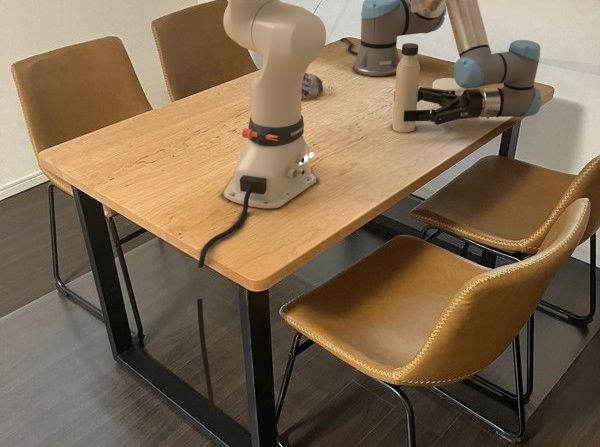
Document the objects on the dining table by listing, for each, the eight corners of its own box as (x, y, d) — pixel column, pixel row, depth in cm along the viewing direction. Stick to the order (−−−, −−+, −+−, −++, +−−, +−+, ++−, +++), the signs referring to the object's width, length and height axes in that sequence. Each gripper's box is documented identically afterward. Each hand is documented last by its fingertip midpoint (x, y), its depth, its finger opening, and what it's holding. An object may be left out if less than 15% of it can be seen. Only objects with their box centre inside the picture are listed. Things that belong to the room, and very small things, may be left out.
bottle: (396, 122, 169) (402, 42, 157) (417, 125, 167) (425, 45, 155) (389, 130, 165) (395, 48, 153) (410, 134, 162) (418, 51, 151)
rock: (327, 94, 187) (327, 70, 183) (303, 102, 181) (302, 79, 177) (294, 83, 196) (293, 61, 192) (270, 91, 190) (268, 68, 186)
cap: (404, 50, 157) (405, 42, 156) (419, 52, 156) (420, 44, 155) (399, 54, 154) (400, 46, 153) (415, 56, 153) (415, 48, 152)
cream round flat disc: (427, 89, 189) (428, 78, 188) (459, 87, 190) (460, 76, 188) (437, 101, 181) (438, 89, 179) (470, 99, 182) (471, 88, 180)
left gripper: (402, -62, 151) (398, -3, 158) (406, -48, 133) (401, 18, 141) (428, -62, 150) (423, -3, 157) (436, -48, 133) (429, 18, 140)
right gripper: (491, 136, 154) (407, 139, 153) (464, 99, 175) (389, 101, 175) (496, 107, 150) (409, 110, 149) (467, 73, 171) (391, 76, 170)
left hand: (413, 7), depth 149 cm, fingers open, 6 cm apart
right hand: (398, 106), depth 162 cm, fingers open, 13 cm apart
